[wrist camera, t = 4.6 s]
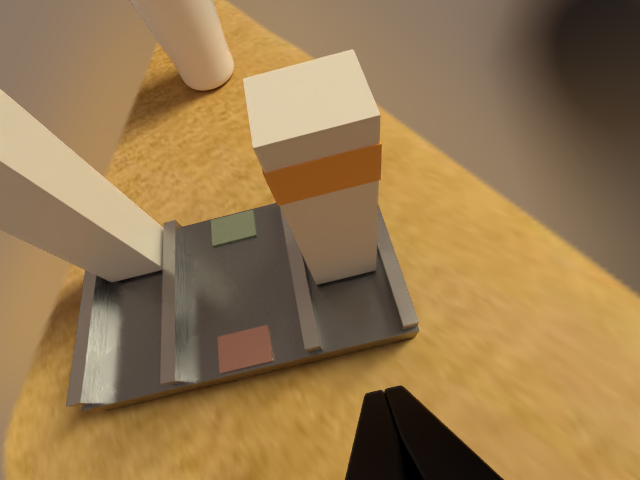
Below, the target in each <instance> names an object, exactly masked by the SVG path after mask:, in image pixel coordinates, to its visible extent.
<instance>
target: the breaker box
mask: <svg viewBox="0 0 640 480" xmlns="http://www.w3.org/2000/svg"><path fill="white" fill-rule="evenodd" d="M418 323H419V321H418V318H417V315H416V312H415V309H414V306H413V304H412V301H411V298H410V295H409V292H408V289H407V286H406V283H405V280H404V277H403V275H402V272H401V269H400V266H399V263H398V260H397V257H396V254H395V251H394V248H393V246H392V243H391V240H390V237H389V234H388V231H387V228H386V225H385V222H384V219H383V217H382V214H381V211H380V208H379V205H378V220H377V256H376V270H375V271H371V272H367V273H363V274H359V275H355V276H351V277H347V278H343V279H338V280H334V281H330V282H326V283H322V284H318V285H316V283H315V281H314V279H313V277H312V274H311V272H310V270H309V268H308V266H307V264H306V261H305V259H304V257H303V255H302V253H301V251H300V248H299V246H298V244H297V242H296V240H295V238H294V235H293V233H292V231H291V229H290V227H289V225H288V222H287V220H286V218H285V216H284V214H283V212H282V209H281V207H280V206H278V205H277V203H274V204H271V205H267V206H263V207H259V208H255V209H251V210H247V211H243V212H239V213H235V214H231V215H227V216H223V217H219V218H215V219H211V220H207V221H203V222H200V223H196V224H192V225H188V226H184V227H182V226H181V225H180V224H179V223H178V222H177V221H176V220H174V221H170V222H166V223H164V233H163V270H160V271H156V272H152V273H148V274H144V275H140V276H136V277H132V278H128V279H124V280H120V281H116V282H110V281H108V280H106V279H103V278H101V277H99V276H97V275H95V274H93V273H91V272H89V271H87V270H85V276H84V283H83V290H82V297H81V304H80V311H79V318H78V326H77V333H76V340H75V347H74V354H73V361H72V368H71V375H70V382H69V390H68V397H67V404H66V406H82V411H96V410H110V409H115V408H119V407H123V406H127V405H131V404H136V403H140V402H144V401H148V400H153V399H157V398H161V397H165V396H169V395H174V394H178V393H182V392H186V391H191V390H195V389H199V388H203V387H207V386H212V385H216V384H220V383H224V382H229V381H233V380H237V379H241V378H245V377H250V376H254V375H258V374H262V373H267V372H271V371H275V370H279V369H283V368H288V367H292V366H296V365H300V364H305V363H309V362H313V361H317V360H321V359H326V358H330V357H334V356H338V355H343V354H347V353H351V352H355V351H359V350H364V349H368V348H372V347H376V346H381V345H385V344H389V343H393V342H397V341H402V340H406V339H410V338H414V337H416V335H417V333H418V332H419V328H418Z"/></svg>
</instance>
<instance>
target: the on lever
mask: <svg viewBox="0 0 640 480" xmlns="http://www.w3.org/2000/svg"><path fill="white" fill-rule="evenodd" d="M0 230H2V231H5V232H6V233H9V234H11V235H13V236H15V237H17V238H19V239H21V240H23V241H25V242H28V243H30V244H32V245H34V246H36V247H38V248H40V249H42V250H44V251H47V252H49V253H51V254H53V255H55V256H57V257H59V258H61V259H63V260H65V261H68V262H70V263H72V264H74V265H76V266H78V267H80V268H82V269H84V270H87V271H89V272H91V273H93V274H95V275H97V276H99V277H101V278H103V279H106V280H108V281H110V282H116V281H120V280H124V279H128V278H132V277H136V276H140V275H144V274H148V273H152V272H156V271H160V270H163V233H164V228H163V227H162V226H160V225H159V224H158V223H157V222H156V221H155V220H153V219H152V218H151V217H150V216H149V215H148V214H146V213H145V212H144V211H143V210H142V209H141V208H139V207H138V206H137V205H136V204H135V203H133V202H132V201H131V200H130V199H129V198H128V197H126V196H125V195H124V194H123V193H122V192H121V191H119V190H118V189H117V188H116V187H115V186H114V185H112V184H111V183H110V182H109V181H108V180H106V179H105V178H104V177H103V176H102V175H101V174H99V173H98V172H97V171H96V170H95V169H93V168H92V167H91V166H90V165H89V164H88V163H87V162H85V161H84V160H83V159H82V158H81V157H79V156H78V155H77V154H76V153H75V152H74V151H72V150H71V149H70V148H69V147H67V145H65V144H64V143H63V142H62V141H61V140H59V139H58V138H57V137H56V136H55V135H54V134H52V133H51V132H50V131H49V130H48V129H47V128H45V127H44V126H43V125H42V124H41V123H39V122H38V121H37V120H36V119H35V118H34V117H33V116H31V115H30V114H29V113H28V112H27V111H26V110H24V109H23V108H22V107H21V106H20V105H18V104H17V103H16V102H15V101H14V100H13V99H11V98H10V97H9V96H8V95H7V94H5V93H4V92H3V91H2V90H1V89H0Z"/></svg>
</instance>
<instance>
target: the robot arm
mask: <svg viewBox="0 0 640 480" xmlns="http://www.w3.org/2000/svg"><path fill="white" fill-rule="evenodd" d="M345 480H504V479H503V478H502V477H500V476H499V475H498V474H497V473H496V472H495V471H494V470H493V469H492V468H491V467H490V466H489V465H488V464H486V463H485V462H484V461H483V460H482V459H481V458H480V457H479V456H478V455H477V454H476V453H475V452H474V451H472V450H471V449H470V448H469V447H468V446H467V445H466V444H465V443H464V442H463V441H462V440H461V439H460V438H458V437H457V436H456V435H455V434H454V433H453V432H452V431H451V430H450V429H449V428H448V427H447V426H446V425H444V424H443V423H442V422H441V421H440V420H439V419H438V418H437V417H436V416H435V415H434V414H433V413H432V412H430V411H429V410H428V409H427V408H426V407H425V406H424V405H423V404H422V403H421V402H420V401H419V400H418V399H416V398H415V397H414V396H413V395H412V394H411V393H410V392H409V391H408V390H407V389H406V388H405V387H403V386H396V387H391V388H387V389H385V391H384V392H383V391H382V390H378V391H374V392H370V393H366V394H365V396H364V400H363V404H362V408H361V413H360V417H359V421H358V426H357V430H356V434H355V438H354V443H353V447H352V451H351V456H350V460H349V464H348V468H347V473H346V477H345Z"/></svg>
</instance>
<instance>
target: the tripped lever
mask: <svg viewBox="0 0 640 480" xmlns="http://www.w3.org/2000/svg"><path fill="white" fill-rule="evenodd" d="M243 82H244V88H245V95H246V102H247V109H248V116H249V123H250V130H251V137H252V144H253V149H254V151H255V153H256V155H257V157H258V160H259V162H260V164H261V166H262V170H263V175H264V177H265V179H266V181H267V184H268V186H269V188H270V190H271V192H272V194H273V196H274V198H275V201H276V203H277V205H278V206H280V207H281V209H282V212H283V214H284V216H285V218H286V220H287V222H288V225H289V227H290V229H291V231H292V233H293V235H294V238H295V240H296V242H297V244H298V246H299V248H300V251H301V253H302V255H303V257H304V259H305V261H306V264H307V266H308V268H309V270H310V272H311V274H312V277H313V279H314V281H315V283H316V285H318V284H322V283H326V282H330V281H334V280H338V279H343V278H347V277H351V276H355V275H359V274H363V273H367V272H371V271H375V270H376V256H377V220H378V183H379V180H380V177H381V149H382V144H381V141H380V113H379V110H378V108H377V106H376V103H375V101H374V98H373V96H372V93H371V91H370V89H369V86H368V84H367V81H366V79H365V76H364V74H363V72H362V69H361V67H360V64H359V62H358V59H357V57H356V54H355V52H354V50H353V49H352V50H348V51H345V52H341V53H337V54H333V55H330V56H326V57H322V58H318V59H314V60H311V61H307V62H303V63H299V64H296V65H292V66H288V67H285V68H281V69H277V70H273V71H270V72H266V73H262V74H258V75H255V76H251V77H247V78H243Z"/></svg>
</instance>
